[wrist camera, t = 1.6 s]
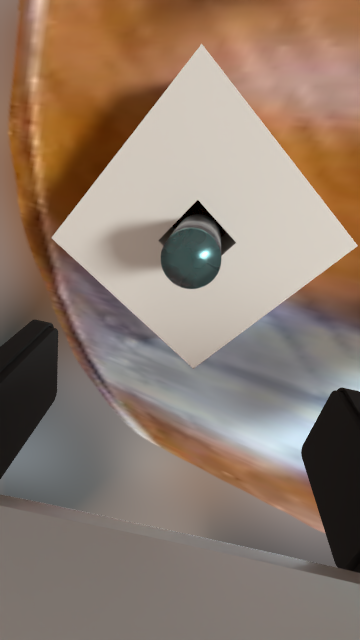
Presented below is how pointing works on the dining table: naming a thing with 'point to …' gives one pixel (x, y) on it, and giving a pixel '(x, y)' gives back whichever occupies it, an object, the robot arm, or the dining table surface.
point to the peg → (192, 252)
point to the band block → (219, 200)
